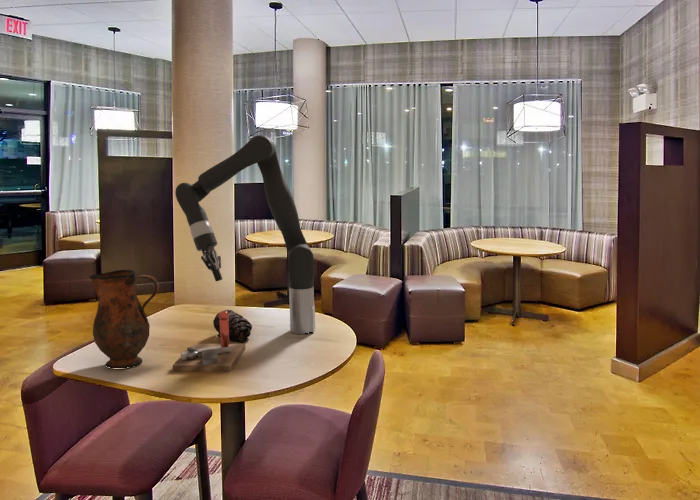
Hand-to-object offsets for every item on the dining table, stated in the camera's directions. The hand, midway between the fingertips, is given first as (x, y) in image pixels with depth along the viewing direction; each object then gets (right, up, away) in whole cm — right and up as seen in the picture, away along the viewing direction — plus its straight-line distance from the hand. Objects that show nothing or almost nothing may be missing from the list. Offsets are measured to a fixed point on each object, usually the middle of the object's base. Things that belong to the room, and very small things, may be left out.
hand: (219, 280), depth 191 cm
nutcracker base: (+1, -25, -16) cm, 30 cm away
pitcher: (-24, -26, -19) cm, 40 cm away
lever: (0, -23, -18) cm, 29 cm away
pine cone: (+4, -22, +7) cm, 23 cm away
